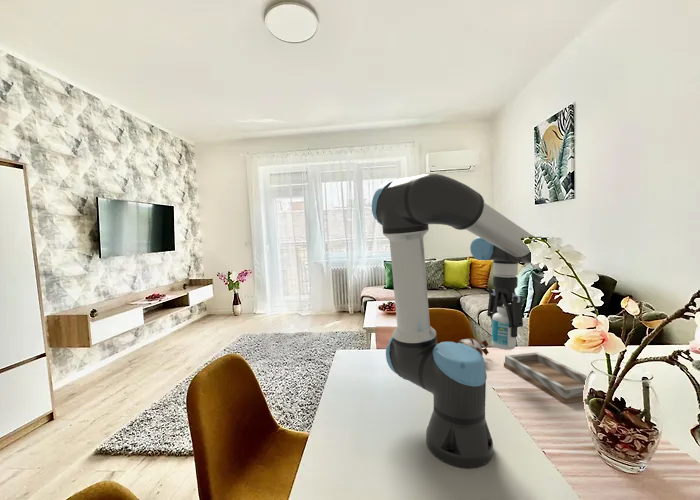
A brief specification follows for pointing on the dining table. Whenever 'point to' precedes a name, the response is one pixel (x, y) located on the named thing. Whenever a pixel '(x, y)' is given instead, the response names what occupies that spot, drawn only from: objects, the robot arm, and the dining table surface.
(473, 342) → the decorative duck model
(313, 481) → the dining table surface
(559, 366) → the grey rimmed shallow tray
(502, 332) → the pill bottle
